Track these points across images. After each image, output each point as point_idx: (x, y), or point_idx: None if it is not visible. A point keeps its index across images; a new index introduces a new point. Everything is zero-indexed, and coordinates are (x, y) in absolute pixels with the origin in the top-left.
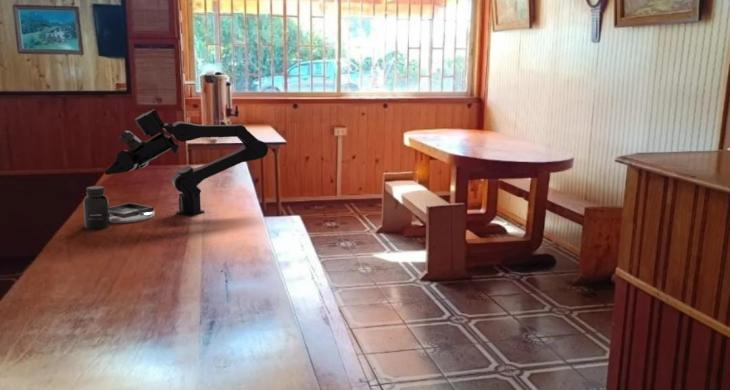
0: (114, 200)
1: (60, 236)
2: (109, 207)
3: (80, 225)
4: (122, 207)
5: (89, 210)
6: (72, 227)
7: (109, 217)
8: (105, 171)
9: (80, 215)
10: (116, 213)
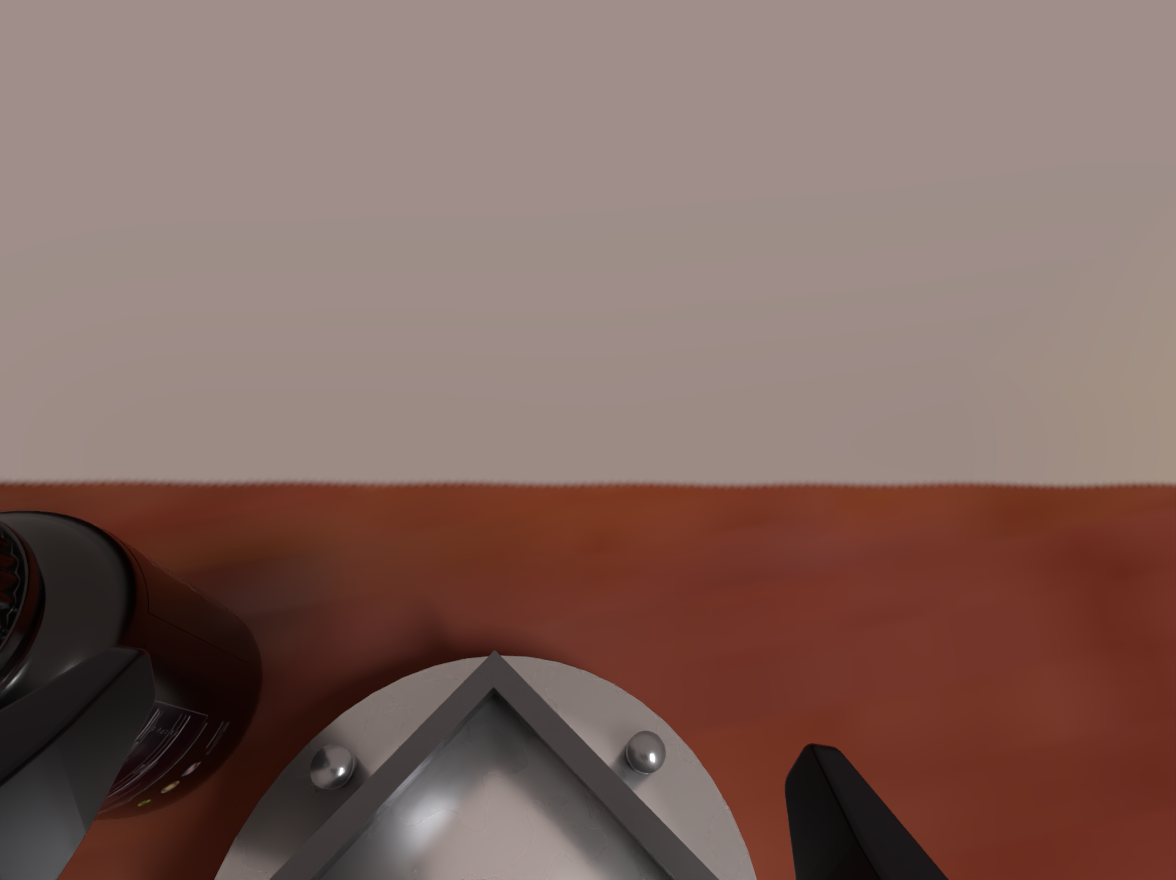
0: (1118, 670)
1: (14, 482)
2: (555, 729)
3: (287, 554)
4: (653, 858)
5: None
6: (248, 511)
7: (286, 782)
8: (73, 674)
9: (603, 500)
10: (289, 861)
